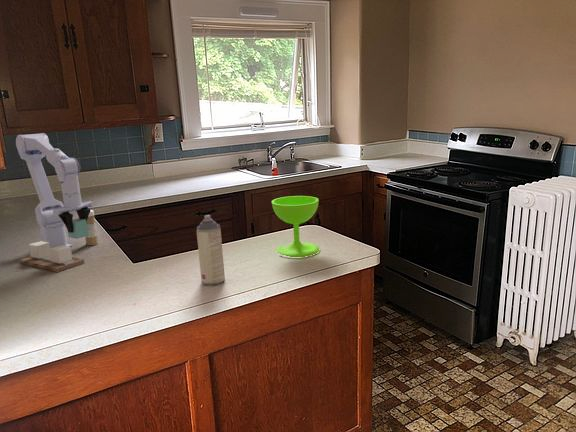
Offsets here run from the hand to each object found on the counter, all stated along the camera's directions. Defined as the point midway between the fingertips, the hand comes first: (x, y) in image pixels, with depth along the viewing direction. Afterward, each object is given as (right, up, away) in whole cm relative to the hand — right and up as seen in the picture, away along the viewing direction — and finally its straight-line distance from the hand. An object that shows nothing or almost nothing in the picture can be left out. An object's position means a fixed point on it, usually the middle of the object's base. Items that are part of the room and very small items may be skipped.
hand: (77, 230), depth 167 cm
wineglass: (+79, -7, -5) cm, 79 cm away
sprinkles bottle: (-1, -6, +16) cm, 17 cm away
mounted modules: (-7, -9, -5) cm, 13 cm away
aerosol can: (+54, -14, -29) cm, 63 cm away
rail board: (-6, -11, -5) cm, 14 cm away
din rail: (-7, -10, -5) cm, 13 cm away
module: (0, -2, 0) cm, 2 cm away
